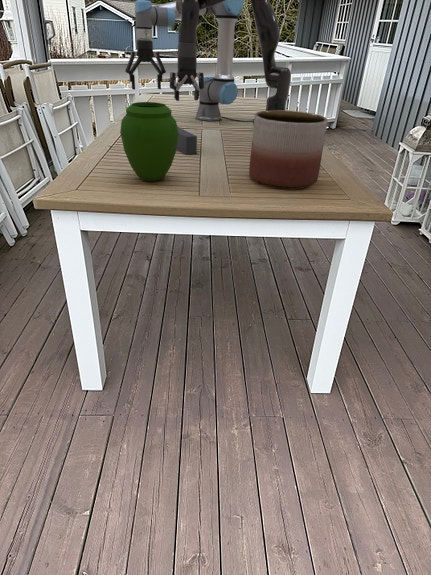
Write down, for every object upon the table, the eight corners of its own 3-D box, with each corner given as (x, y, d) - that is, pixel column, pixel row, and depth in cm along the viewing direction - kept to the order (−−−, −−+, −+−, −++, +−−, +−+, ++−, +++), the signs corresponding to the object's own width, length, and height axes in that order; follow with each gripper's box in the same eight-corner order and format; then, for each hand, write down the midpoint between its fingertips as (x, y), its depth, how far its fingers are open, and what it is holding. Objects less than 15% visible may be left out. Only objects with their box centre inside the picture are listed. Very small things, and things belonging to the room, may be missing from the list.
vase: (131, 189, 135) (125, 110, 122) (118, 172, 150) (112, 100, 137) (186, 184, 142) (187, 109, 129) (169, 168, 157) (167, 99, 144)
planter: (327, 190, 144) (341, 124, 132) (258, 191, 139) (265, 122, 128) (303, 169, 165) (312, 110, 153) (241, 169, 161) (246, 109, 149)
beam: (141, 128, 218) (140, 113, 214) (150, 128, 220) (150, 113, 216) (186, 154, 177) (186, 136, 173) (196, 153, 179) (197, 136, 175)
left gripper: (121, 39, 186) (124, 90, 198) (171, 41, 197) (172, 89, 208) (116, 38, 192) (120, 88, 203) (166, 40, 202) (166, 87, 214)
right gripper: (174, 56, 155) (174, 102, 164) (207, 56, 161) (206, 101, 170) (166, 54, 161) (167, 99, 170) (199, 55, 167) (198, 98, 176)
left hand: (146, 89), depth 206 cm, fingers open, 13 cm apart
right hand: (186, 100), depth 170 cm, fingers open, 8 cm apart
